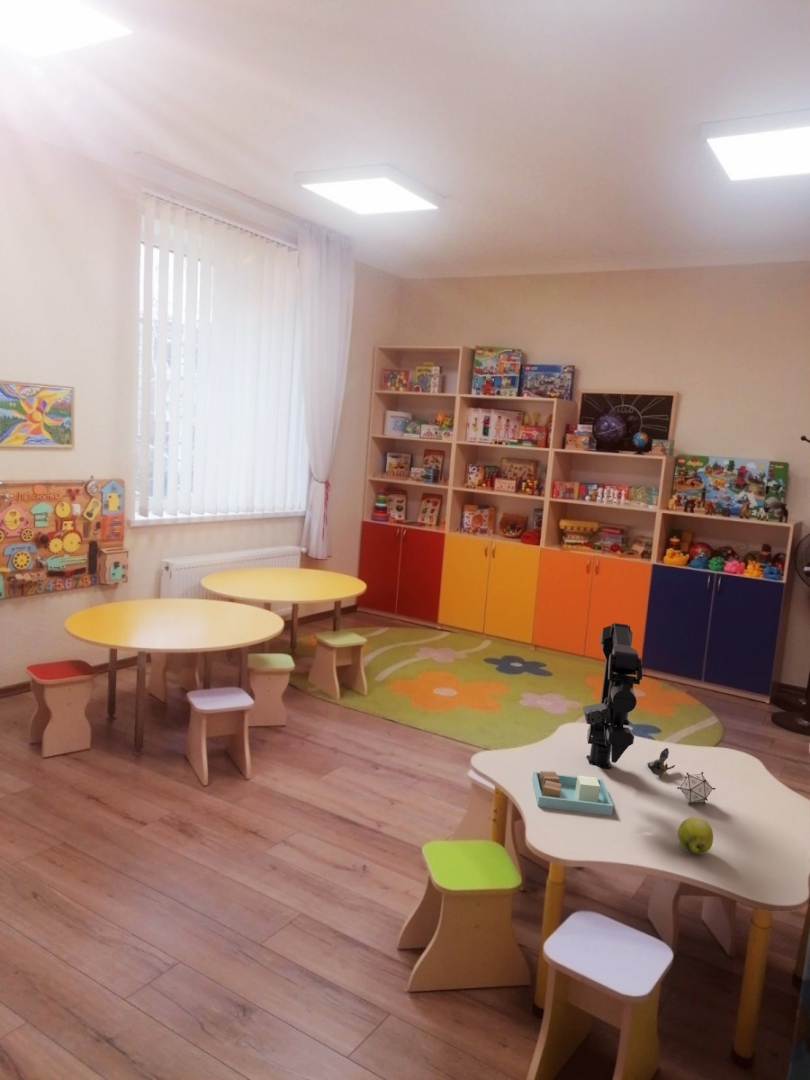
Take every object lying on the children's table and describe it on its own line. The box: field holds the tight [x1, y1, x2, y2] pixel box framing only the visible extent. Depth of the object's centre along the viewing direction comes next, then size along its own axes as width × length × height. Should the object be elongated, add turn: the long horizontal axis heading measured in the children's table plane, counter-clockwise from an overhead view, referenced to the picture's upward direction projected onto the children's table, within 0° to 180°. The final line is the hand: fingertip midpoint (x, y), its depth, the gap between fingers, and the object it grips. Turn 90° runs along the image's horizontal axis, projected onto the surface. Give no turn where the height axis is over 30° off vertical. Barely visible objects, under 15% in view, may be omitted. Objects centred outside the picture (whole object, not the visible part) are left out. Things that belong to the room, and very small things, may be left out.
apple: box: [677, 816, 714, 855], centre depth 183 cm, size 8×9×8 cm
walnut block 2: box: [543, 780, 562, 798], centre depth 201 cm, size 4×4×4 cm
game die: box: [676, 771, 716, 806], centre depth 208 cm, size 9×8×10 cm
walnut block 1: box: [539, 770, 559, 792], centre depth 206 cm, size 4×4×4 cm
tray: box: [531, 771, 614, 816], centre depth 203 cm, size 15×19×3 cm
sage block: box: [575, 775, 600, 803], centre depth 203 cm, size 5×5×5 cm
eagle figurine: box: [646, 747, 676, 778], centre depth 226 cm, size 8×7×9 cm
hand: (610, 754), depth 205 cm, fingers open, 9 cm apart
